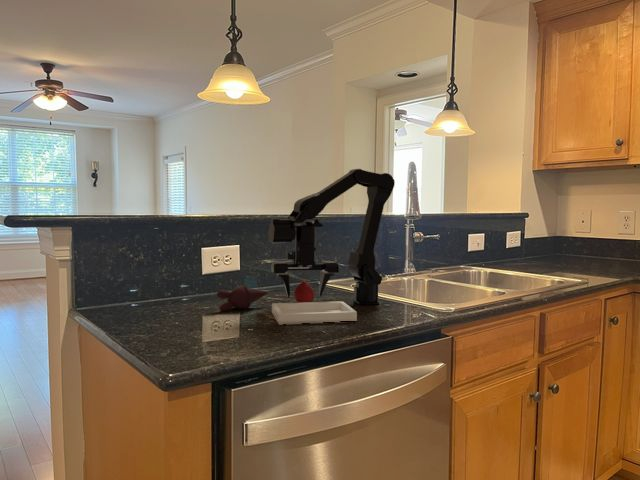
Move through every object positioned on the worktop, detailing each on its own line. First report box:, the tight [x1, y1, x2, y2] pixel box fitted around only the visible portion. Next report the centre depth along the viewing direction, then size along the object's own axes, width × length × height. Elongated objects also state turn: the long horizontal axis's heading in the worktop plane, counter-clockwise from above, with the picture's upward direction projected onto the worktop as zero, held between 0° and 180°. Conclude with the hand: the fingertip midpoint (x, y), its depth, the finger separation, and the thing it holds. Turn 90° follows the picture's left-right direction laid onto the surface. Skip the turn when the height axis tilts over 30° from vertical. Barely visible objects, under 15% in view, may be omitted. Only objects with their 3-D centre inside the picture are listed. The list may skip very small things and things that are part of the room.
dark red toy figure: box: [216, 284, 269, 312], centre depth 133 cm, size 7×7×15 cm
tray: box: [271, 300, 358, 326], centre depth 124 cm, size 20×13×2 cm, turn 103°
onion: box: [293, 279, 315, 303], centre depth 136 cm, size 6×6×8 cm
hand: (304, 296), depth 136 cm, fingers open, 9 cm apart
